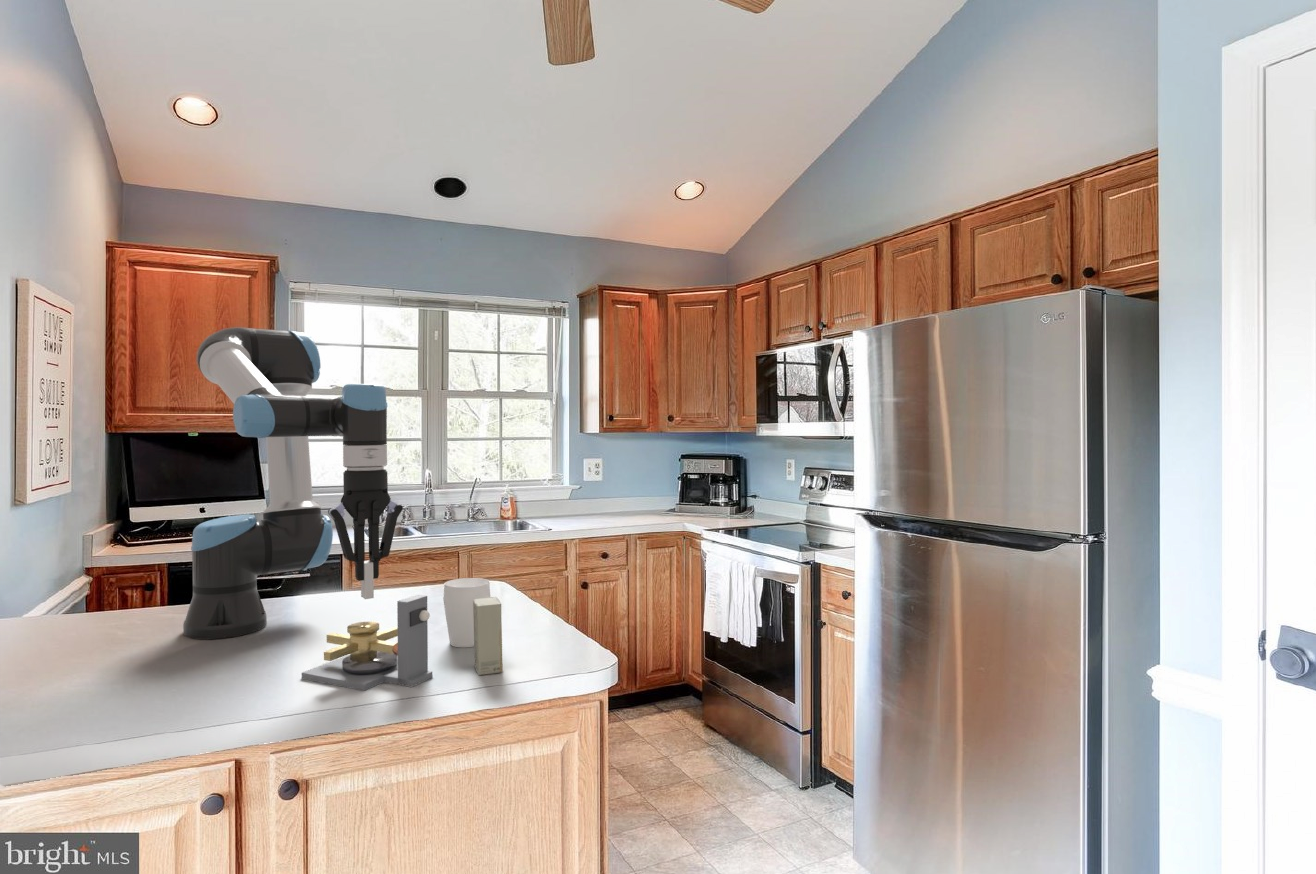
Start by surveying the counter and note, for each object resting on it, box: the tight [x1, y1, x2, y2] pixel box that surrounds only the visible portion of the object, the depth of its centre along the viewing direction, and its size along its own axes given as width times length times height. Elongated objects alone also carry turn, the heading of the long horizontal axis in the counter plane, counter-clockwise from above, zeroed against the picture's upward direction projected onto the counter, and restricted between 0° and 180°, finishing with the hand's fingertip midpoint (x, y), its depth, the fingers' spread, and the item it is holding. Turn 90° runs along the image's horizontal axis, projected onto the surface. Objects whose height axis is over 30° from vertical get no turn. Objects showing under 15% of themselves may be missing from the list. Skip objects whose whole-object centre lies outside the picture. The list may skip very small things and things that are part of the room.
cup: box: [442, 577, 491, 649], centre depth 149 cm, size 9×9×12 cm
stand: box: [301, 594, 433, 692], centre depth 131 cm, size 20×14×14 cm
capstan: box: [323, 621, 398, 674], centre depth 132 cm, size 17×16×7 cm
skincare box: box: [473, 596, 504, 676], centre depth 134 cm, size 6×4×12 cm
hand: (367, 597), depth 138 cm, fingers closed
